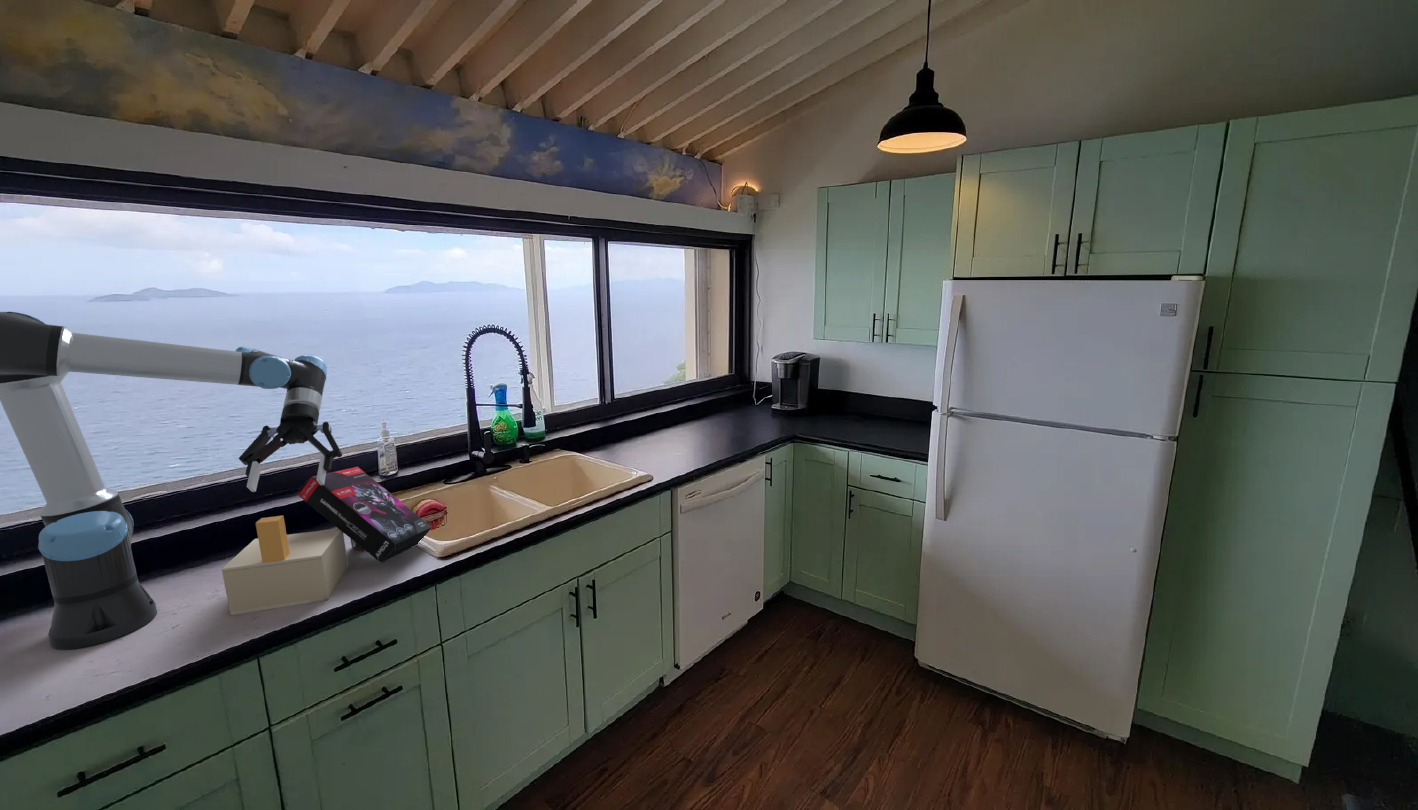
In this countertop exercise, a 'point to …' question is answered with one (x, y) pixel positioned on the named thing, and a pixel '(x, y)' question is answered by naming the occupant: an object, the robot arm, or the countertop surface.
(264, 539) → the carton flap
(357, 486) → the graphics card box
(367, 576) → the countertop surface
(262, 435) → the robot arm
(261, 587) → the carton
